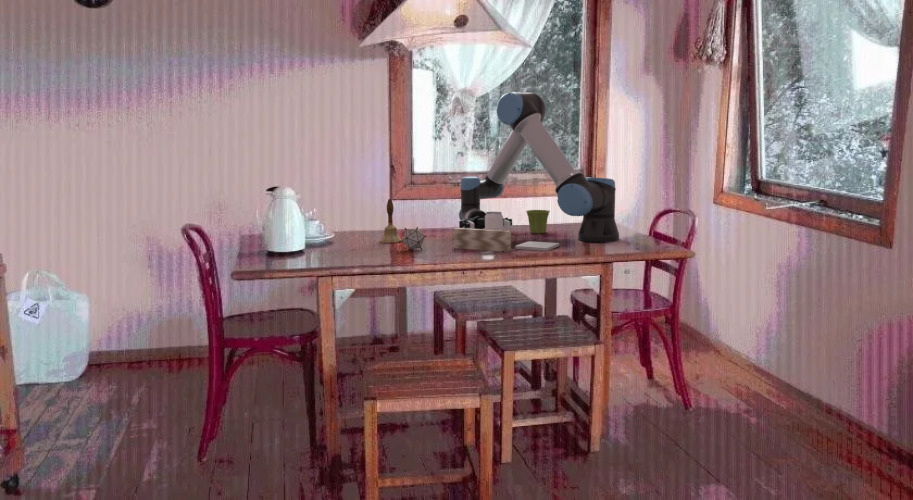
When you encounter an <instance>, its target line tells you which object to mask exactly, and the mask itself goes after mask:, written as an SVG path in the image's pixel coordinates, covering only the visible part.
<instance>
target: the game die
mask: <svg viewBox="0 0 913 500" xmlns="http://www.w3.org/2000/svg"><path fill="white" fill-rule="evenodd" d="M404 230H405V231H404V234H403V237H402V238H401V239H402V241H399V242H398V243H401V242H402V243H403V244H404V245H405V246H406V248H408V252H409V251H411V250H414V249H415V250H416V249H420V250H421V251H422V250H423V248H422V245H423V243H424V240H425V238H426V237H428V235H424V234H423V232H421V231H420V229H419V226H417V227H416V228H406V227H404Z"/></svg>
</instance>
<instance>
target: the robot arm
mask: <svg viewBox="0 0 913 500" xmlns="http://www.w3.org/2000/svg"><path fill="white" fill-rule="evenodd" d="M496 107H497V108H496V116H497V118H498V120H499V121H500V122H501V123H502V124H504V125H506V126H510V129H512V130H511V131H510V134H509V135H508V137H507V139H506V141H505V142H504V143H503V145H502V148H501V149H500V151H499V153H498V154H497V157H495V160H494V161H493V164H492V165H491V167H490V168H489V171H488V172H487V173H486V176H485V177H484V179H481V178H480V177H479V176H462V178H461V179H460V202H461V203H460V210H459V212H458V218H459V221H458V224H459V226H458V228H469V229H485V216H486V212H485V211H483V210H481V200H485V199H493V198H497V197H499V196H501V195H502V194H503V193H504V189H505V188H504V187H505V186H504V182H505V181H506V179H507V178H508V176H509V174H510V172H511V170H512V169H513V167H514V165H515V164H516V162H517V161H518V159H519V157H520V156H521V154H522V152H523V151H524V149H525V147H526V145H528V146H529V148H530V150H531V151H532V152H533V154H534V155H535V157H536V159H537V160H538V161H539V163H540V165H541V166H542V167H543V169H544V170H545V172H546V173H547V174H548V176H549V177H550V179H551V180H552V182H553V183H554V184H555V189H554V191H555V193H556V195H557V196H556V197H557V201H556V202H557V204H558V205H557V206H559V207H558V208H559V209H560V210H561V211H562V212H563V213H564V214H566V215H567V216H570V217H582V220H581V224H580V228H579V230H578V234H577V239H578V240H579V241H582V242H589V243H590V242H591V243H612V242H616V241H619V240H620V232H619V229H618V226H617V223H616V218H615V213H616V190H617V187H616V182H615V180H614V179H612V178H605V177H595V176H594V177H591V176H587V177H586V176H585V175H584V174H583V172H582V171H581V172H580V171H576V170H575V168H574V167H573V165H571V163H570V162H569V160H568V159H567V157H566V156H565V154H564V153H563V152H562V150H561V148H560V147H559V146H558V144H557V143H556V142H555V140H554V138H553V137H552V136H551V135H550V134H551V133H549V132H548V129H546V127H545V125H543V121H544V119H545V116H546V103H545V101H544V99H543V98H542V97H541V96H540V95H539V94H538V93H535V92H530V91H529V92H518V91H511V92H507V93H504V94H503V95H502V96H501V97H500V98H499V100H498V101H497V105H496ZM480 179H481V180H480ZM512 227H513V218H509V217H508V216H507V217H503V228H506V229H508V230H511V228H512Z"/></svg>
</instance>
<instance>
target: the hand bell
mask: <svg viewBox="0 0 913 500" xmlns="http://www.w3.org/2000/svg"><path fill="white" fill-rule="evenodd" d="M394 208H395V207H394V203H393V200H392V198H388V199H387V203H386V213H387V216H388V221H387V225H386V226H385V227H384V231H383V236H382V238H381V239H380V241H379V242H380V243H383V244H393V243H396V244H397V243H400V242H399V241H402V239H403V238H400V236H399V234H398V229H397V227H396V226H395V225H394V223H393V215H394Z"/></svg>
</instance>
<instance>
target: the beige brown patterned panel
mask: <svg viewBox="0 0 913 500" xmlns="http://www.w3.org/2000/svg"><path fill="white" fill-rule="evenodd" d="M453 248H454V249H462V250H474V251H490V252H502V251H504V252H505V253H508V252H511V251H512V231H511V230H504V229H503V230H487V229H485V228H484V229H469V228H464V227H463V228H459V227H455V228H453Z"/></svg>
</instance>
